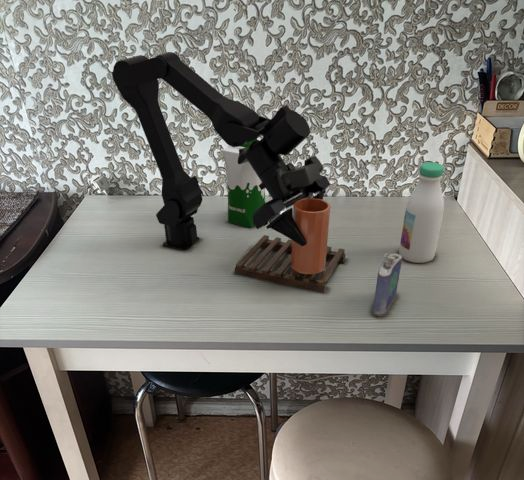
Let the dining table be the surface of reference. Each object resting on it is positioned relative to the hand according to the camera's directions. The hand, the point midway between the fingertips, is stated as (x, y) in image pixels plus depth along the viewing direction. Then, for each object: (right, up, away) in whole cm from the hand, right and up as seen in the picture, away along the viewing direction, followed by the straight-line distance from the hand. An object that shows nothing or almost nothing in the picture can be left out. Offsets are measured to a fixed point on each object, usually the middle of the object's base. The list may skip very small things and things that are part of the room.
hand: (315, 238), depth 104 cm
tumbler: (-1, -5, +5) cm, 7 cm away
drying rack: (-4, -4, +12) cm, 13 cm away
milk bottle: (+24, -1, +15) cm, 28 cm away
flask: (+13, -13, -1) cm, 19 cm away
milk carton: (-14, +11, +31) cm, 36 cm away
